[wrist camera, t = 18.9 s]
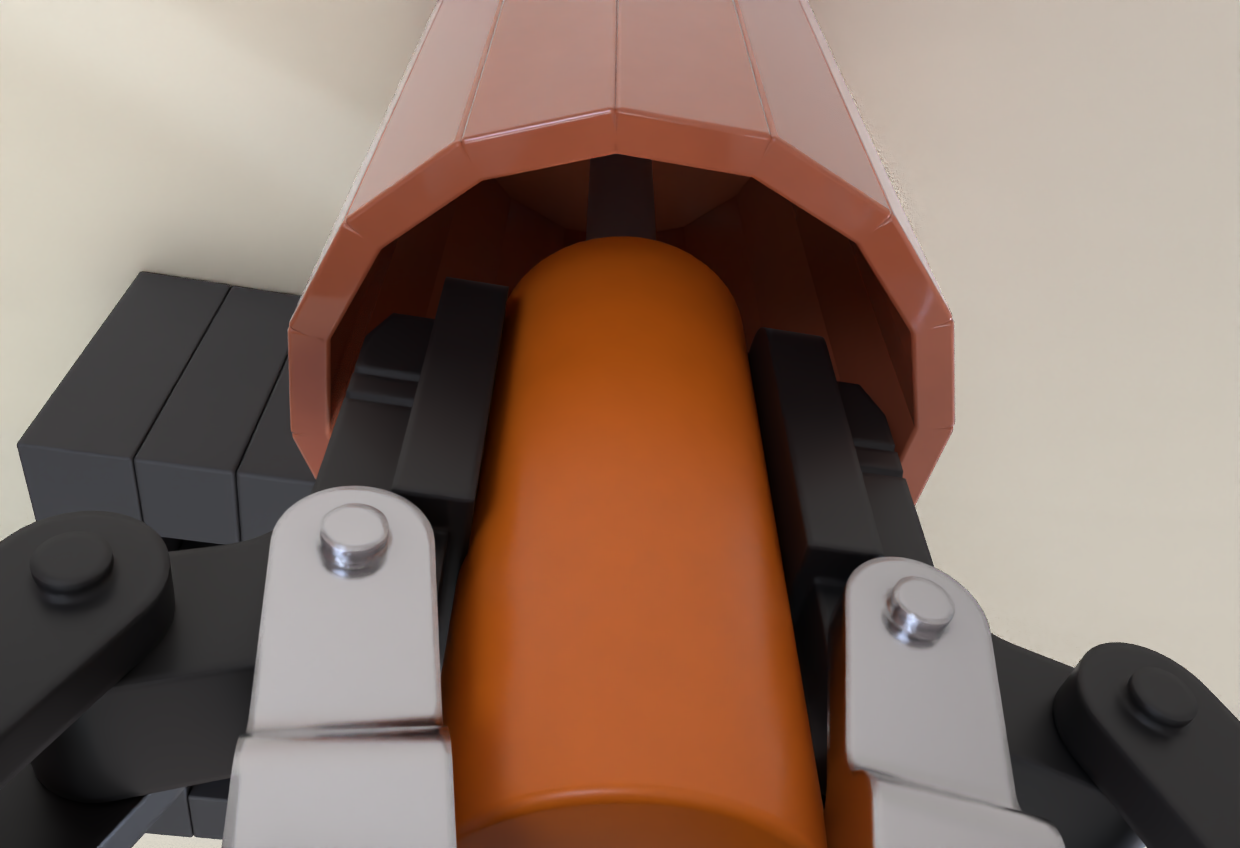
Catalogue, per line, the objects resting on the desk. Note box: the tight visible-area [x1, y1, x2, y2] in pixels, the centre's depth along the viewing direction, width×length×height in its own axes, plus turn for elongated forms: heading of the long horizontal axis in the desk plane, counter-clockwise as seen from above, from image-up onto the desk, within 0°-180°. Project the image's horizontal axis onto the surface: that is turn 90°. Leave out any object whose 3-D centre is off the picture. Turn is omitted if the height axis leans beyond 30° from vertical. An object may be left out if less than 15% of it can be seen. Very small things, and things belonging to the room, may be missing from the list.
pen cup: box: [287, 0, 955, 506], centre depth 16 cm, size 7×7×11 cm
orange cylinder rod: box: [440, 154, 827, 848], centre depth 12 cm, size 3×3×12 cm
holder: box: [17, 272, 443, 840], centre depth 25 cm, size 10×13×6 cm
